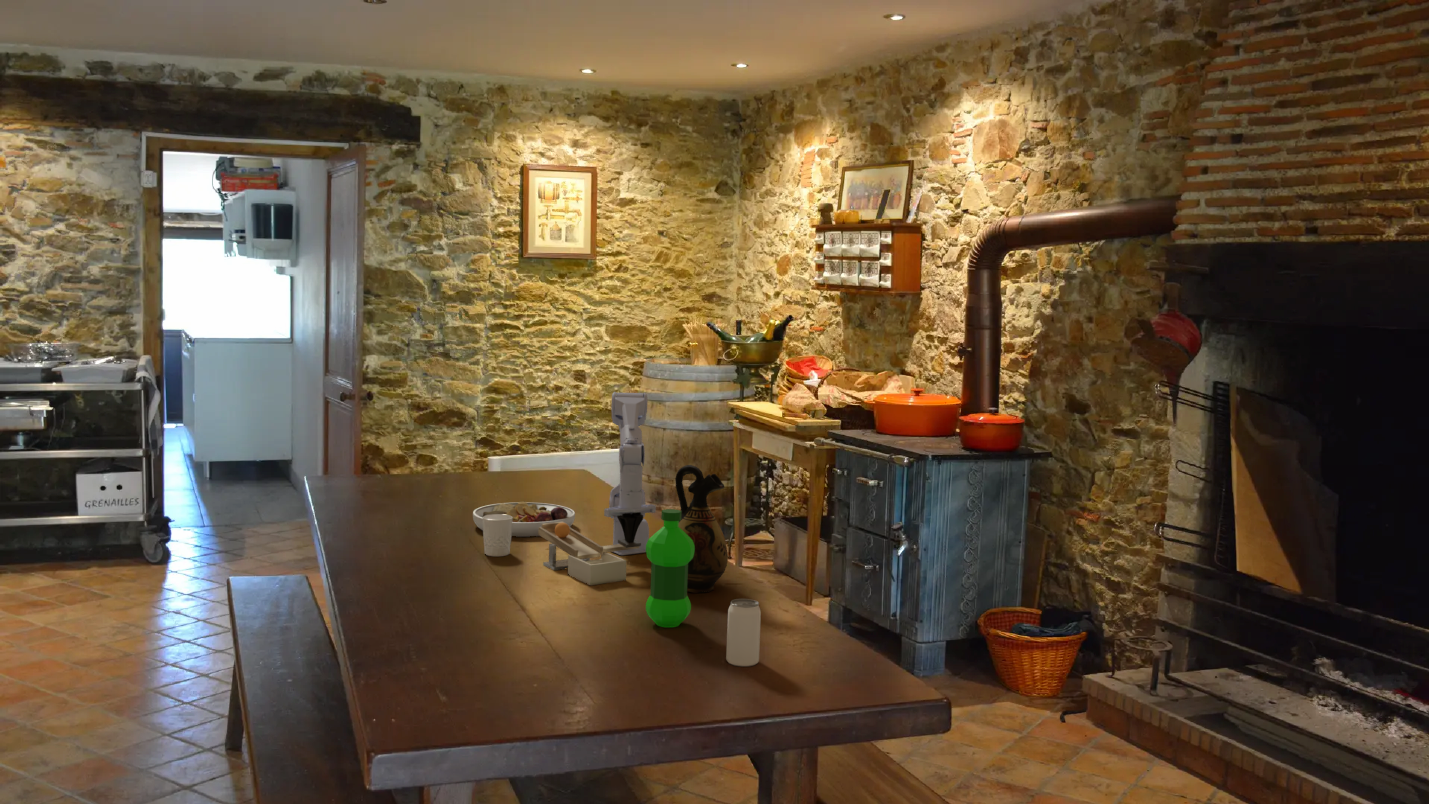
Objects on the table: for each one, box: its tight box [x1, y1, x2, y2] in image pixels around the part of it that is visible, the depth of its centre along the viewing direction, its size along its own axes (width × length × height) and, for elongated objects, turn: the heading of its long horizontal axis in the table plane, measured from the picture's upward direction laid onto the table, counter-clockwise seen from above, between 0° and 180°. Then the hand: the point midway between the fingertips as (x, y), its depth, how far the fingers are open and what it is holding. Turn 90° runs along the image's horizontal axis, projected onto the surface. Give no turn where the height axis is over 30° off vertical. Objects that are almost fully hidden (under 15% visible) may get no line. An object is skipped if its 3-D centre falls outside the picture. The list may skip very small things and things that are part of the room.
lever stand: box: [542, 543, 591, 571], centre depth 291 cm, size 12×6×6 cm, turn 126°
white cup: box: [482, 514, 513, 557], centre depth 301 cm, size 8×8×10 cm
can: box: [725, 598, 762, 668], centre depth 220 cm, size 6×6×12 cm
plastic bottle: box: [645, 508, 695, 628], centre depth 243 cm, size 10×10×25 cm
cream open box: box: [567, 552, 627, 586], centre depth 280 cm, size 10×11×5 cm
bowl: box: [472, 500, 576, 538], centre depth 334 cm, size 30×30×8 cm
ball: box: [555, 523, 570, 538], centre depth 294 cm, size 4×4×4 cm
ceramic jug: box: [675, 464, 729, 594], centre depth 273 cm, size 17×15×30 cm
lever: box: [538, 522, 641, 559], centre depth 294 cm, size 19×21×3 cm
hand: (629, 542), depth 291 cm, fingers closed, pressing on lever
